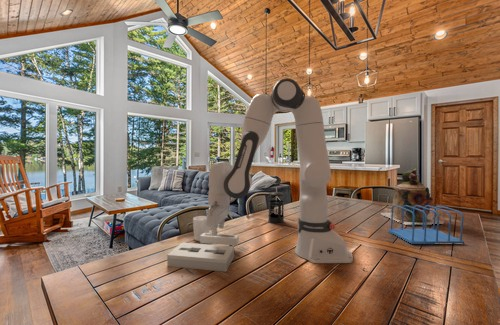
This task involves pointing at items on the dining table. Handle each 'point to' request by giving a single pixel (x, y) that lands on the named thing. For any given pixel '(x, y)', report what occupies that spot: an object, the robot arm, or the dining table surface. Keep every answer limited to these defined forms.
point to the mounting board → (201, 256)
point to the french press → (276, 217)
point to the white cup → (200, 226)
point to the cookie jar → (411, 200)
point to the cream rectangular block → (219, 239)
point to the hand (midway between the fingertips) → (218, 231)
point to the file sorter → (426, 234)
